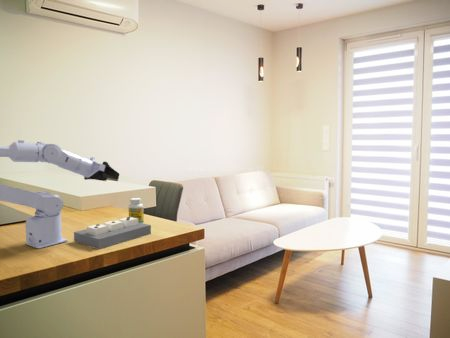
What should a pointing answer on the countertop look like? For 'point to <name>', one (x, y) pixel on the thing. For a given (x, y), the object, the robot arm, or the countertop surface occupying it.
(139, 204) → the supplement bottle
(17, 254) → the countertop surface
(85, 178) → the robot arm
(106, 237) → the button board
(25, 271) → the countertop surface
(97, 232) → the tile two
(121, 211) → the countertop surface
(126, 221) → the tile three
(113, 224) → the tile one
